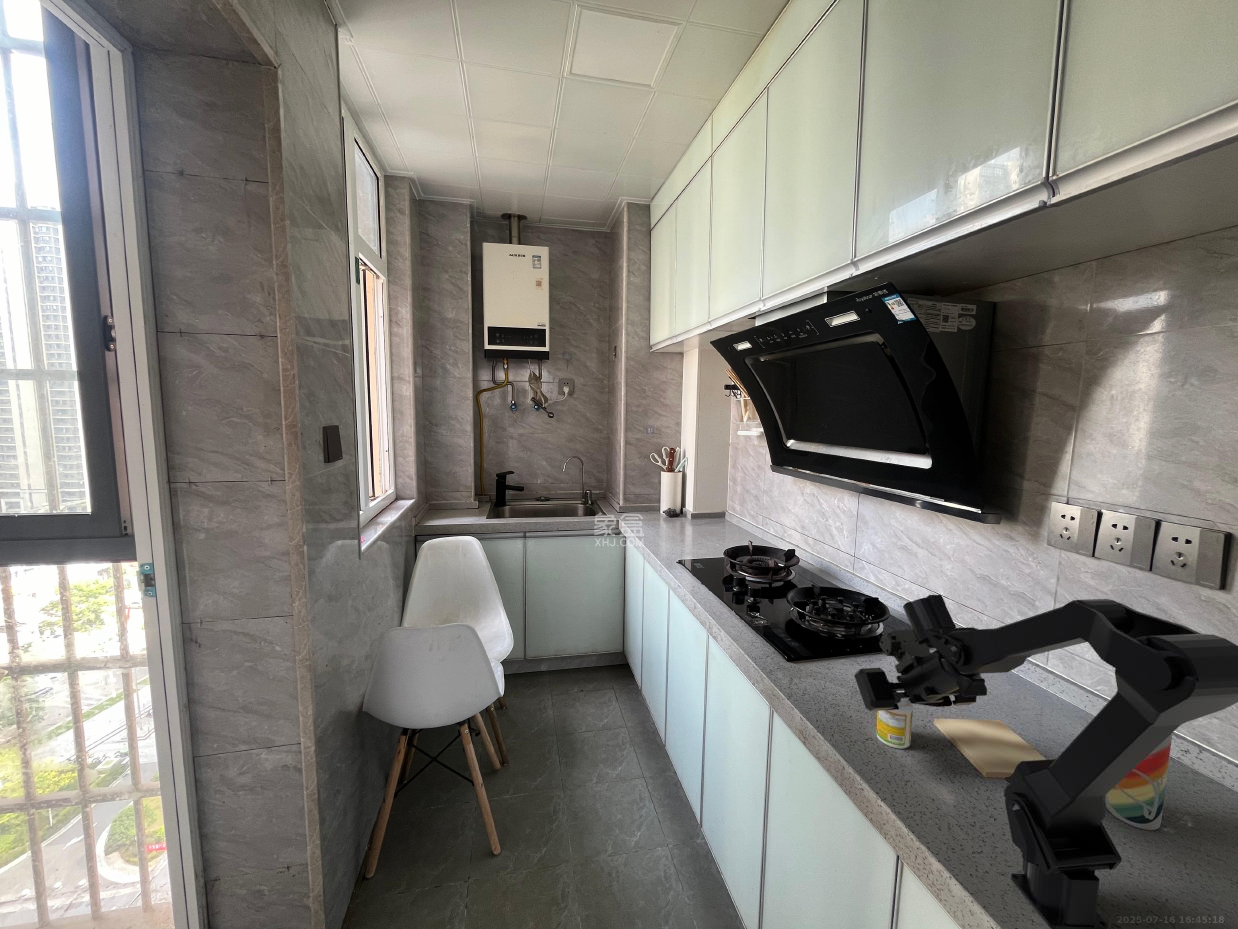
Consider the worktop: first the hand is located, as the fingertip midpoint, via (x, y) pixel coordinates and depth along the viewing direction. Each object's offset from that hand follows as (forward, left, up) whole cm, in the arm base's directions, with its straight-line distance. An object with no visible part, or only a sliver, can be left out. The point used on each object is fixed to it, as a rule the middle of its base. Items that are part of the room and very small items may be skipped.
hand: (890, 700), depth 90 cm
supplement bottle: (-1, 0, -7) cm, 7 cm away
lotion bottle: (-17, -26, -7) cm, 32 cm away
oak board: (-3, -16, -7) cm, 18 cm away
